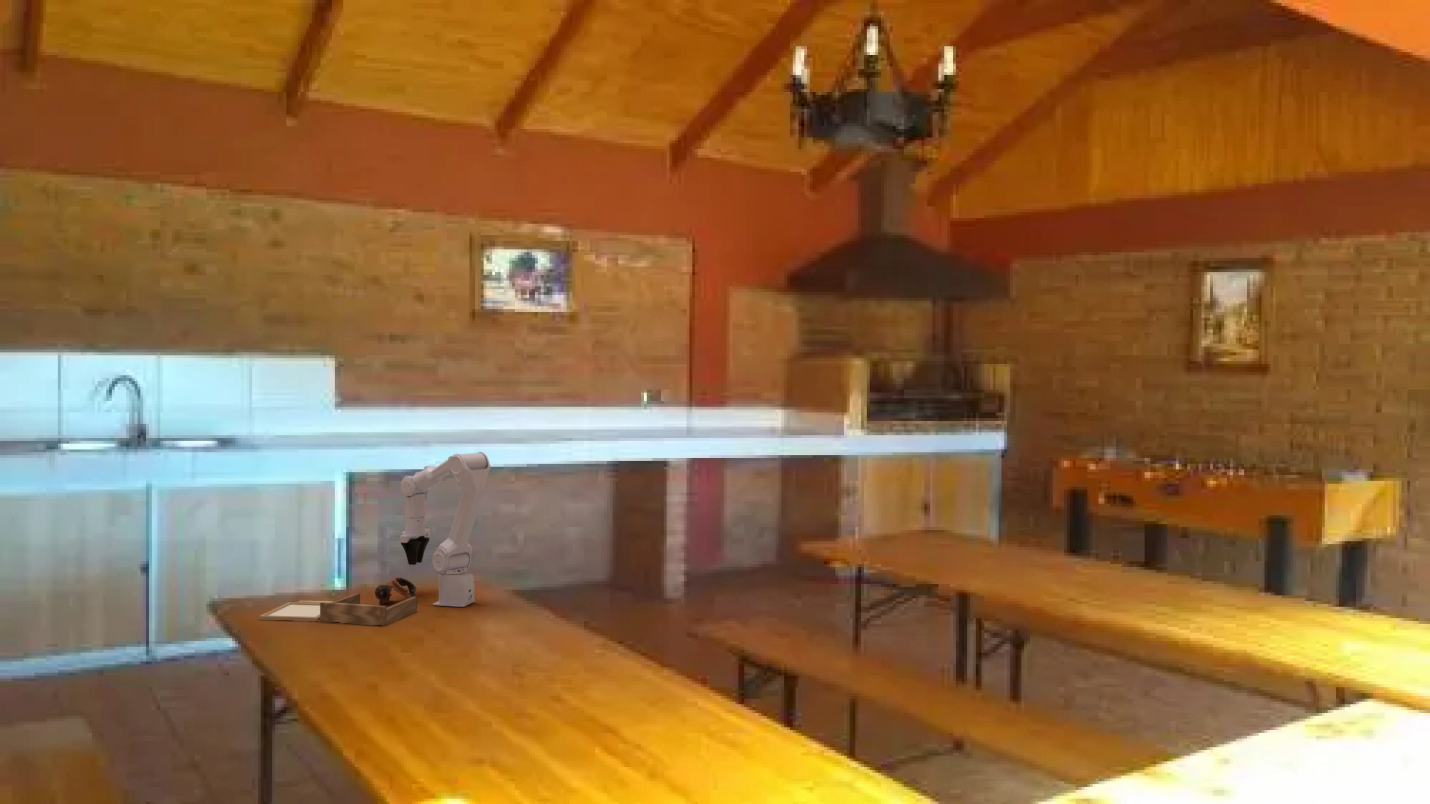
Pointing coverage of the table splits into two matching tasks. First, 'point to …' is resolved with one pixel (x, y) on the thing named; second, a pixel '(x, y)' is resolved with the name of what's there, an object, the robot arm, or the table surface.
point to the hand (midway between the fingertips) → (415, 563)
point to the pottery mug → (384, 590)
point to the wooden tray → (365, 611)
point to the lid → (295, 611)
